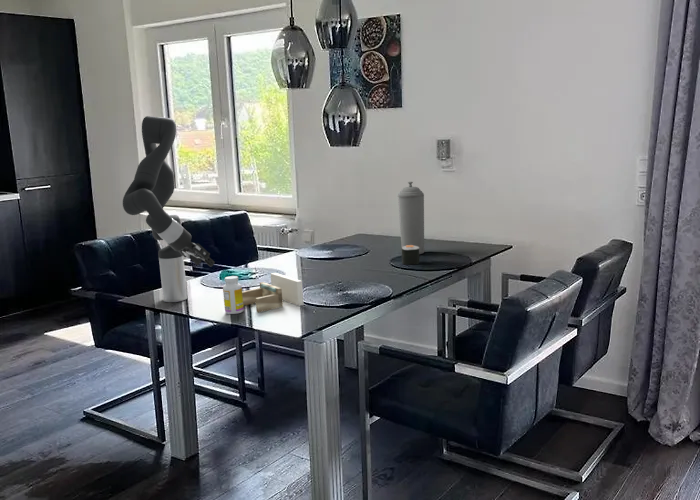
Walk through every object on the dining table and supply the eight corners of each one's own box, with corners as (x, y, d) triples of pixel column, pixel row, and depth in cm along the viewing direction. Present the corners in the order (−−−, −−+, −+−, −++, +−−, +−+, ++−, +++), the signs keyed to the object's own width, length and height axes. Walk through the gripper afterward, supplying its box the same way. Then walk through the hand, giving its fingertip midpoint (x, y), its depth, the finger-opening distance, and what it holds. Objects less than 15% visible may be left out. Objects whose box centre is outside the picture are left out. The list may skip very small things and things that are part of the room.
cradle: (240, 305, 253) (239, 286, 252) (264, 299, 258) (263, 282, 257) (258, 312, 242) (256, 293, 240) (282, 306, 247) (281, 288, 246)
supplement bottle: (244, 309, 247) (242, 274, 245) (242, 314, 241) (239, 278, 238) (226, 310, 247) (223, 275, 245) (223, 315, 241) (220, 280, 238)
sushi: (403, 265, 306) (402, 248, 304) (401, 261, 314) (400, 244, 312) (420, 264, 306) (420, 246, 304) (418, 260, 314) (417, 243, 313)
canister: (431, 252, 331) (429, 180, 324) (413, 256, 322) (411, 183, 316) (412, 249, 340) (409, 179, 333) (394, 254, 332) (391, 182, 325)
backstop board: (272, 295, 264) (270, 273, 262) (276, 294, 265) (275, 272, 263) (298, 305, 248) (297, 281, 246) (303, 304, 249) (301, 280, 247)
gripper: (191, 226, 223) (223, 256, 232) (169, 225, 233) (201, 254, 242) (178, 244, 220) (211, 274, 229) (157, 242, 230) (189, 270, 239)
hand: (206, 263), depth 235 cm, fingers open, 8 cm apart
